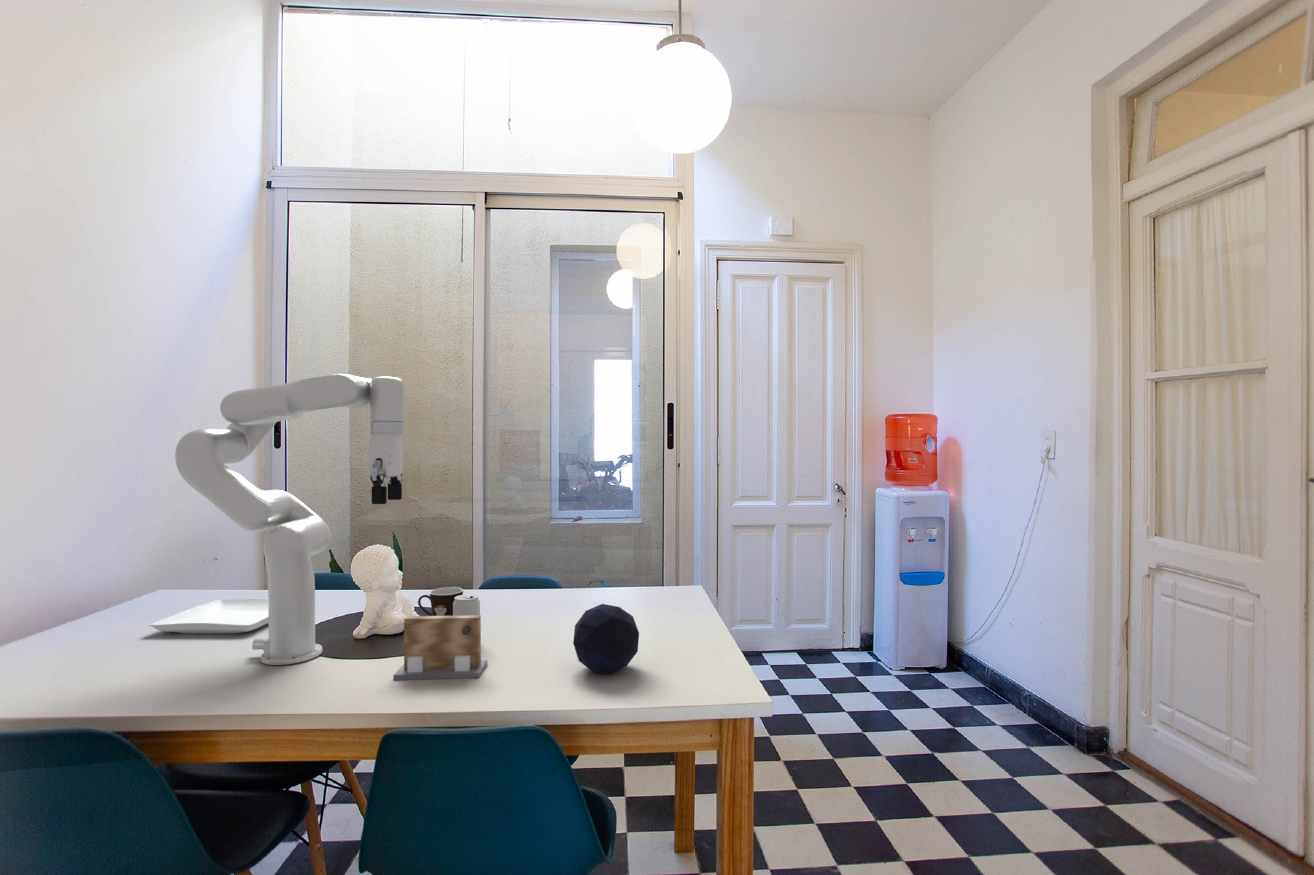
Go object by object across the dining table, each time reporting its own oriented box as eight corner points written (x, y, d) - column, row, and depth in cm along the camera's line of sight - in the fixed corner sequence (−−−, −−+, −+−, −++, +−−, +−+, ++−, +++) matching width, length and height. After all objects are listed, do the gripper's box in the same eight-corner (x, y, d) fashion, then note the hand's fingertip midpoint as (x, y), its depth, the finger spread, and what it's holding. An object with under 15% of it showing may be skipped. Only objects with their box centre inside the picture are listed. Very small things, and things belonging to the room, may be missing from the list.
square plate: (251, 638, 164) (251, 623, 164) (146, 638, 164) (146, 623, 164) (309, 609, 191) (309, 597, 191) (219, 609, 191) (219, 597, 191)
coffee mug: (470, 626, 172) (470, 589, 172) (444, 635, 165) (444, 596, 165) (441, 620, 179) (441, 584, 179) (415, 628, 171) (415, 590, 171)
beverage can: (472, 649, 154) (472, 600, 154) (448, 648, 155) (448, 599, 155) (484, 641, 160) (484, 593, 160) (461, 640, 161) (461, 592, 161)
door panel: (402, 671, 137) (402, 620, 137) (407, 666, 140) (407, 616, 140) (477, 670, 138) (477, 619, 138) (480, 664, 141) (480, 615, 141)
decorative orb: (561, 636, 147) (571, 594, 138) (622, 628, 153) (635, 587, 144) (574, 692, 136) (587, 649, 128) (639, 681, 142) (655, 640, 134)
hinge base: (393, 679, 135) (393, 660, 135) (406, 666, 143) (406, 648, 143) (479, 677, 136) (479, 659, 136) (487, 664, 144) (487, 646, 144)
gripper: (384, 429, 159) (384, 498, 159) (355, 429, 142) (355, 505, 142) (415, 429, 159) (415, 498, 159) (389, 429, 142) (389, 505, 142)
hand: (387, 501), depth 150 cm, fingers open, 9 cm apart
